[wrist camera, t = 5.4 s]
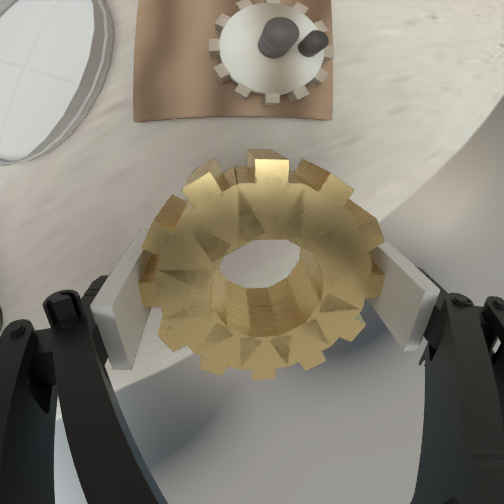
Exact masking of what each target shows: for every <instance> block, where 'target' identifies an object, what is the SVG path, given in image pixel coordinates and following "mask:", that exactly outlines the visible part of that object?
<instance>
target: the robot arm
mask: <svg viewBox="0 0 504 504" xmlns="http://www.w3.org/2000/svg"><path fill="white" fill-rule="evenodd" d="M148 231H149V230H140V232H139V233H138V234H137V236H136V237H135V239H134V240H133V241H132V243H131V244H130V246H129V247H128V249H127V250H126V251H125V253H124V254H123V256H122V257H121V259H120V260H119V262H118V263H117V265H116V266H115V268H114V269H113V271H112V272H111V274H110V275H109V276H100V277H99V278H98V279H96V280H95V281H93V282H92V284H91V285H90V287H89V288H88V290H87V291H86V292H85V294H84V296H83V297H82V298H81V299H80V296H79V294H78V292H76V291H74V290H62V291H58V292H56V293H53V294H52V295H50V296H49V297H47V299H46V300H45V301H44V303H43V308H44V310H45V313H46V316H47V318H48V321H49V323H50V326H51V328H49V329H42V330H36V331H35V330H34V328H33V325H32V323H31V322H30V321H28V320H23V319H21V320H16V321H14V322H12V323H10V324H9V325H8V326H7V327H6V328H5V329H4V331H3V332H2V335H1V337H0V504H55V495H54V435H55V420H56V408H57V398H58V396H59V402H60V408H61V413H62V418H63V422H64V427H65V431H66V435H67V440H68V443H69V447H70V451H71V455H72V458H73V462H74V465H75V468H76V471H77V474H78V478H79V481H80V484H81V487H82V489H83V492H84V495H85V498H86V500H87V503H88V504H168V503H167V501H166V499H165V498H164V496H163V495H162V493H161V491H160V489H159V487H158V486H157V484H156V482H155V480H154V478H153V477H152V475H151V473H150V471H149V469H148V467H147V465H146V463H145V461H144V459H143V457H142V455H141V453H140V451H139V450H138V447H137V445H136V443H135V441H134V439H133V437H132V434H131V432H130V430H129V427H128V425H127V423H126V420H125V418H124V416H123V413H122V411H121V409H120V406H119V404H118V401H117V398H116V396H115V393H114V390H113V388H112V385H111V382H110V379H109V376H108V373H107V371H106V369H105V363H106V361H107V358H108V359H109V362H110V364H111V367H112V369H122V370H132V367H133V364H134V360H135V357H136V354H137V350H138V347H139V344H140V341H141V338H142V334H143V331H144V328H145V325H146V322H147V319H148V316H149V313H150V310H151V307H143V305H142V301H141V296H140V291H139V286H138V282H139V280H140V278H141V276H142V274H143V272H144V270H145V268H146V266H147V264H148V262H149V260H150V258H151V256H152V254H153V253H151V252H149V251H147V250H145V249H143V248H141V247H142V245H143V242H144V240H145V238H146V236H147V233H148ZM384 241H385V240H384ZM368 253H369V255H370V258H371V260H372V261H373V262H374V263H375V264H376V265H377V266H378V267H379V268H380V269H381V270H382V271H383V272H384V273H385V279H384V284H383V288H382V292H381V296H380V297H374V298H367V299H368V300H369V302H370V303H371V305H372V306H373V308H374V309H375V310H376V312H377V313H378V315H379V316H380V317H381V319H382V320H383V322H384V323H385V325H386V326H387V328H388V329H389V331H390V332H391V333H392V335H393V336H394V338H395V339H396V341H397V342H398V344H399V345H400V346H401V348H402V350H403V351H408V350H413V349H418V348H419V346H420V344H421V341H422V338H423V336H424V337H425V339H426V340H427V341H428V343H427V346H426V348H425V350H424V352H423V355H422V357H421V359H420V361H419V365H421V364H422V362H423V361H424V360H425V365H424V366H425V406H424V407H425V408H424V423H423V435H422V446H421V455H420V462H419V470H418V476H417V482H416V488H415V493H414V497H413V499H412V501H411V503H410V504H504V300H503V299H502V298H499V297H494V296H490V297H488V298H487V299H486V301H485V304H484V306H483V307H479V306H474V304H473V302H472V301H471V300H470V299H469V298H467V297H466V296H464V295H462V294H458V293H449V294H448V293H447V292H446V291H445V290H444V289H443V288H442V287H441V286H440V285H439V284H438V283H437V282H435V281H434V280H433V279H432V278H431V277H429V275H428V274H427V273H426V272H425V271H423V270H422V269H420V268H418V267H416V266H415V265H413V264H412V263H411V262H410V261H408V260H407V259H406V258H405V257H404V256H403V255H402V254H401V253H399V252H398V251H397V250H396V249H394V247H393V246H391V245H390V244H389V243H388V242H387V241H385V242H384V243H382V244H381V245H379V246H377V247H376V248H374V249H372V250H370V251H369V252H368ZM1 327H2V315H1V310H0V330H1ZM498 338H499V340H500V341H501V344H500V346H499V348H498V350H497V352H496V353H494V351H493V347H494V345H495V343H496V342H497V340H498Z"/></svg>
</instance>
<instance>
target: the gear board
mask: <svg viewBox="0 0 504 504" xmlns="http://www.w3.org/2000/svg"><path fill="white" fill-rule="evenodd" d="M332 100H333V44H332V14H331V0H139V3H138V12H137V23H136V36H135V53H134V88H133V108H134V122H144V121H154V120H165V119H178V118H195V117H223V116H260V117H288V118H305V119H318V120H332Z"/></svg>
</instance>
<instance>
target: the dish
mask: <svg viewBox="0 0 504 504" xmlns="http://www.w3.org/2000/svg"><path fill="white" fill-rule="evenodd" d="M113 42H114V36H113V25H112V17H111V15H110V12H109V10H108V8H107V6H106V4H105V2H104V0H0V166H5V165H10V164H13V163H20V162H25V161H29V160H32V159H35V158H37V157H39V156H41V155H43V154H46V153H48V152H50V151H52V150H53V149H54V148H56V147H57V146H58V145H59V144H60V143H62V142H63V141H64V140H65V139H67V138H68V137H69V136H70V135H71V134H72V133H73V131H74V130H75V129H76V128H77V126H78V125H79V124H80V123H81V122H82V120H83V119H84V118H85V117H86V116H87V114H88V112H89V110H90V108H91V107H92V105H93V103H94V101H95V100H96V98H97V96H98V95H99V93H100V91H101V88H102V85H103V83H104V80H105V77H106V74H107V72H108V69H109V66H110V61H111V54H112V48H113Z"/></svg>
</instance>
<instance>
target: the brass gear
mask: <svg viewBox="0 0 504 504" xmlns="http://www.w3.org/2000/svg"><path fill="white" fill-rule="evenodd" d="M181 190H182V191H183V193H184V194H185V196H186V197H187V199H188V201H187V202H186V201H184V200H182V199H180V198H178V197H176V196H174V195H171V197H170V198H169V200H168V201H167V202H166V204H165V205H164V206H163V208H162V209H161V211H160V212H159V214H158V215H157V216H156V218H155V219H154V221H153V222H152V225H151V227H150V229H149V231H148V233H147V236H146V238H145V240H144V242H143V245H142V247H141V248H143V249H145V250H147V251H149V252H151V253H153V254H152V256H151V258H150V260H149V262H148V264H147V266H146V268H145V270H144V272H143V274H142V276H141V278H140V280H139V282H138V286H139V291H140V296H141V301H142V305H143V307H161V309H162V315H163V316H162V320H161V324H160V328H159V331H158V335H157V336H158V337H159V338H160V339H161V340H162V341H163V342H164V343H165V344H166V345H167V346H168V347H169V348H170V349H171V350H172V351H173V352H174V351H176V350H178V349H181V348H183V347H185V346H187V345H188V347H189V348H190V349H191V350H192V351H193V352H194V353H196V354H198V355H200V356H201V357H200V369H202V370H205V371H208V372H211V373H214V374H216V375H219V376H221V375H222V374H223V373H224V371H225V370H226V369H227V368H228V367H229V366H230V367H233V368H236V369H241V370H246V369H251V374H252V380H264V379H275V372H276V368H279V367H288V366H291V365H293V364H295V363H297V362H300V363H301V365H302V366H303V368H304V369H305V370H308V369H310V368H312V367H314V366H316V365H319V364H320V363H322V362H325V361H326V359H325V357H324V354H323V352H322V350H324V349H326V348H328V347H330V346H331V345H333V343H334V342H335V341H336V340H337V339H338V338H339V337H341V338H343V339H345V340H348V341H350V342H351V341H352V340H353V339H354V338H355V337H356V336H357V335H358V333H359V332H360V331H361V330H362V329H363V328H364V327H365V325H366V324H365V322H364V321H363V319H362V317H361V316H360V314H359V313H360V312H361V310H362V309H363V304H364V300H365V298H374V297H380V296H381V292H382V288H383V284H384V279H385V273H384V272H383V271H382V270H381V269H380V268H379V267H378V266H377V265H376V264H375V263H374V262H373V261H372V260H371V258H370V255H369V253H368V252H369V251H370V250H372V249H374V248H376V247H377V246H379V245H381V244H382V243H384V242H385V241H384V238H383V235H382V233H381V230H380V227H379V224H378V221H377V219H376V218H375V217H373V216H372V215H371V214H369V213H368V212H366V211H365V210H364V209H362V208H361V207H359V206H358V205H356V204H355V203H354V202H352V201H351V200H349V197H350V196H351V194H352V193H353V191H354V189H353V188H352V187H350V186H349V185H347V184H346V183H344V182H343V181H342V180H340V179H339V178H337V177H336V176H334V175H333V174H331V173H330V172H328V171H326V170H324V169H322V168H320V167H318V166H316V165H314V164H312V163H310V162H308V161H306V160H304V159H302V160H301V162H300V164H299V165H298V167H297V168H296V170H295V172H294V173H293V172H291V171H289V159H287V158H285V157H283V156H282V155H280V154H278V153H276V152H275V151H273V150H264V149H247V167H235V168H234V167H233V168H231V169H229V170H228V171H226V172H224V173H223V171H222V170H221V168H220V167H219V165H218V163H217V162H216V160H215V158H214V159H213V160H211V161H209V162H208V163H206V164H204V165H203V166H201V167H199V168H198V169H196V170H195V171H193V173H192V174H191V176H190V177H189V179H188V180H187V182H186V183H185V185H184V186H183V188H182V189H181ZM272 239H287V240H289V241H291V242H293V243H294V244H296V245H298V246H300V247H301V248H300V260H299V261H298V263H297V264H296V266H295V267H294V269H293V270H292V271H291V273H290V274H289V276H288V277H287V278H285V279H284V280H282V281H280V282H278V283H276V284H274V285H272V286H270V287H269V288H251V289H245V288H243V287H241V286H239V285H237V284H235V283H232V282H230V281H228V280H226V279H225V277H224V276H223V274H222V273H221V272H220V270H219V269H218V266H219V264H220V262H221V261H222V259H223V257H224V256H225V255H227V254H229V253H231V252H232V251H234V250H236V249H238V248H240V247H241V246H243V245H245V244H247V243H249V242H250V241H252V240H272Z"/></svg>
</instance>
